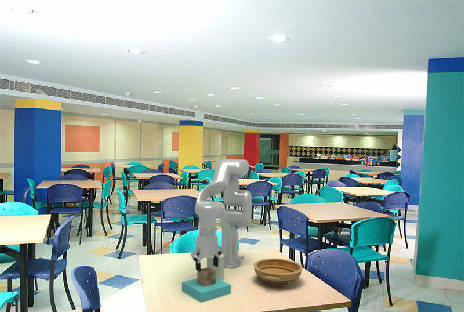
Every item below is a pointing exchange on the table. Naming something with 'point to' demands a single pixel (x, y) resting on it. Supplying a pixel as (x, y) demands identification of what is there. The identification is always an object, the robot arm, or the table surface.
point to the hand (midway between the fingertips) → (207, 268)
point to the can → (218, 269)
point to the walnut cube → (206, 277)
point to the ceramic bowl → (277, 271)
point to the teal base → (206, 289)
